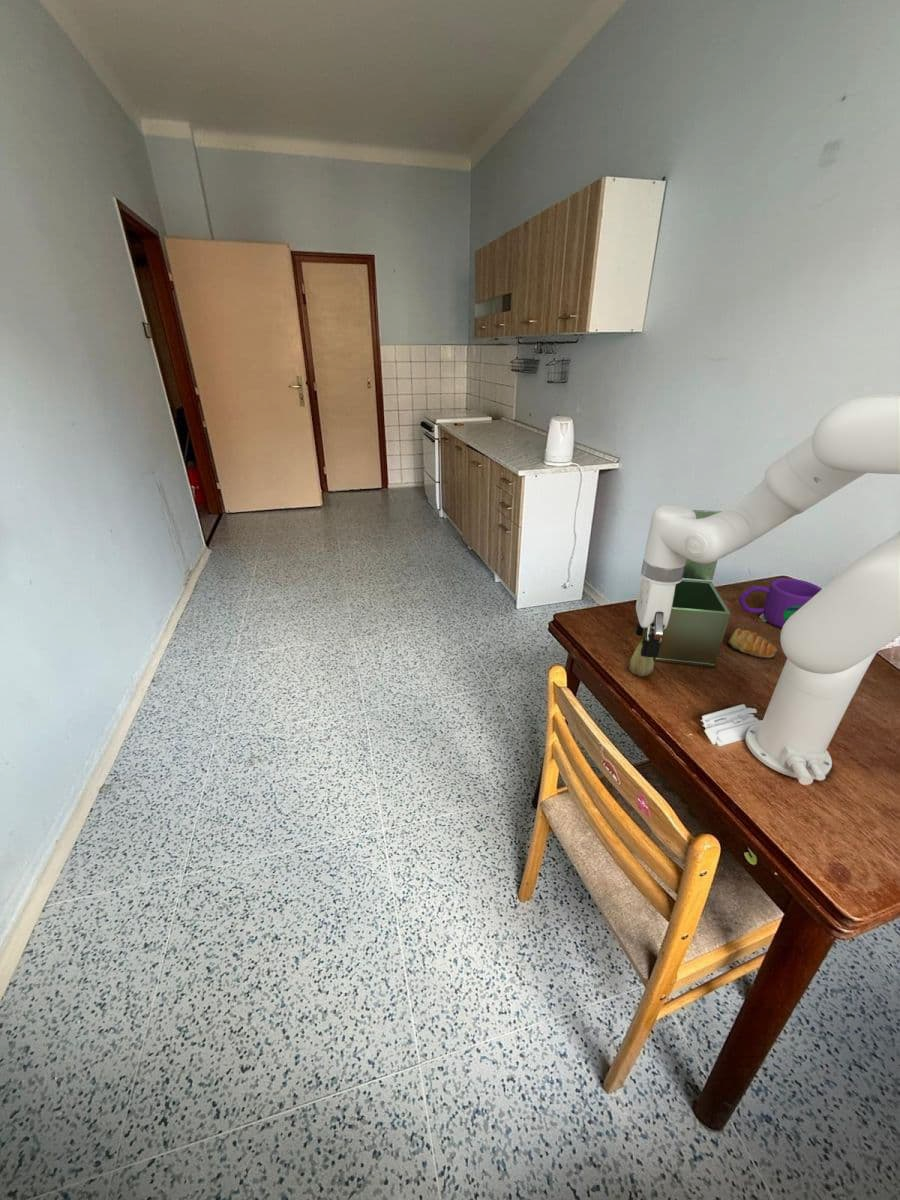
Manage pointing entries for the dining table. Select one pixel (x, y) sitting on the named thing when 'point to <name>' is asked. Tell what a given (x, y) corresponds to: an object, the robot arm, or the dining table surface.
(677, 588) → the trash bin
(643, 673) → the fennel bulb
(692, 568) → the bin lid
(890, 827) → the dining table surface
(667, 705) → the dining table surface
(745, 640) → the pastry
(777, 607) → the mug
